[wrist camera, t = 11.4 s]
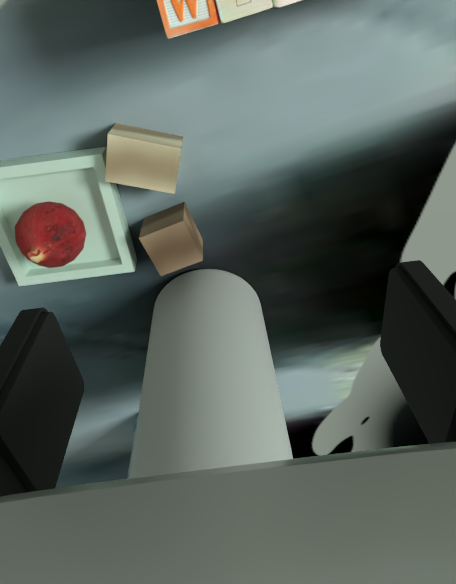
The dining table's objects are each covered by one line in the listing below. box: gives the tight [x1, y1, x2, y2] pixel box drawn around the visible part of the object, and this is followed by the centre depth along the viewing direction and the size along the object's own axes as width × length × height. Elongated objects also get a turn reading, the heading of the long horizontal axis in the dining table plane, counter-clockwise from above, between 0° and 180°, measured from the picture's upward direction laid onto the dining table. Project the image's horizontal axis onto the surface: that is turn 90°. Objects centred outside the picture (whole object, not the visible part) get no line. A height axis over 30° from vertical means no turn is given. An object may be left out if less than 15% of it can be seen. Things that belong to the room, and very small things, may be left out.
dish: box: [0, 146, 137, 286], centre depth 41 cm, size 12×12×2 cm
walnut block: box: [139, 202, 203, 276], centre depth 41 cm, size 4×4×4 cm
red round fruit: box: [15, 201, 86, 268], centre depth 37 cm, size 6×6×8 cm
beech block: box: [105, 123, 183, 194], centre depth 37 cm, size 4×6×4 cm, turn 78°
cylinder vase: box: [129, 269, 293, 479], centre depth 39 cm, size 12×12×25 cm
